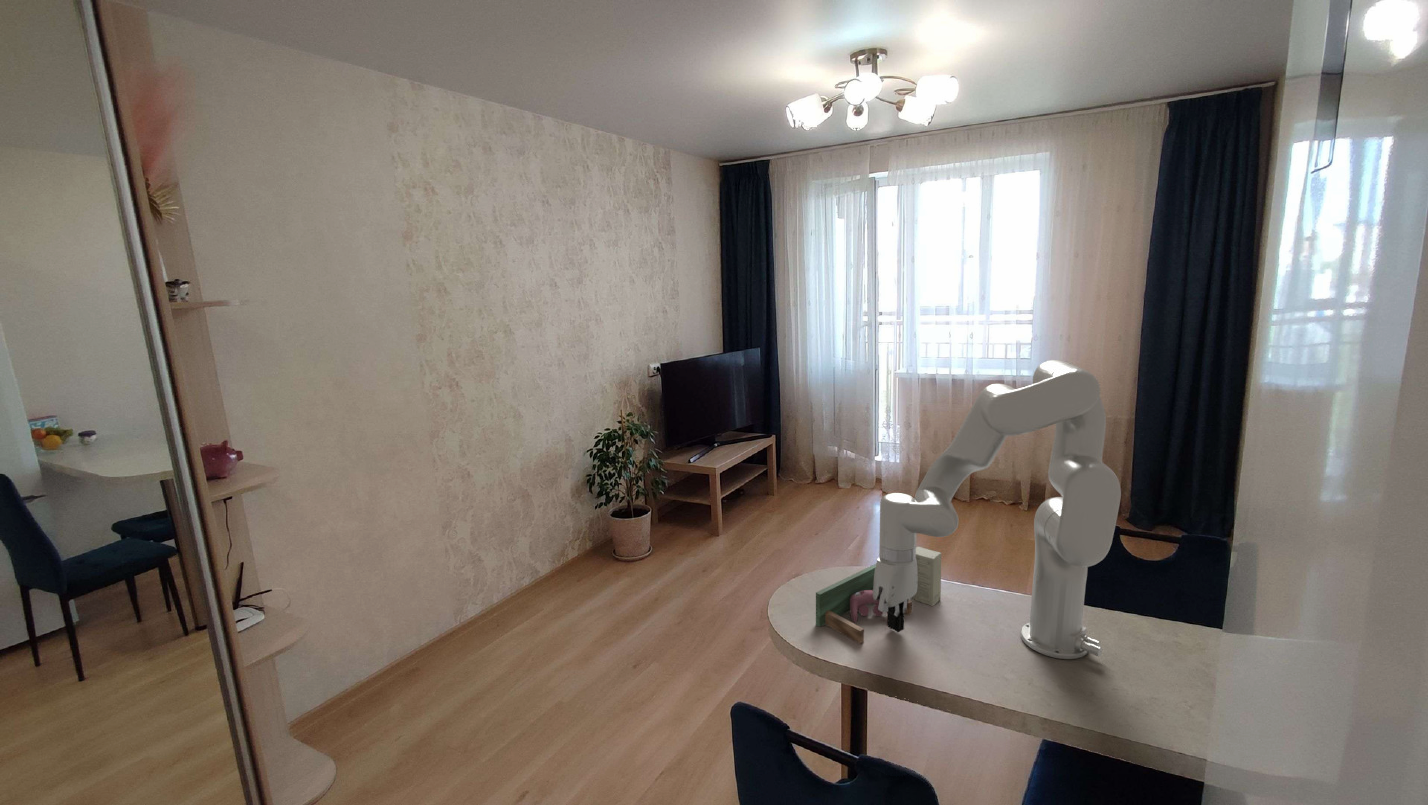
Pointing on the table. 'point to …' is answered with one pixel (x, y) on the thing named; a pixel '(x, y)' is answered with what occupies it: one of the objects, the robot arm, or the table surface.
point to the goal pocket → (845, 603)
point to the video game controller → (863, 604)
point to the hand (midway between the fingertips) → (895, 628)
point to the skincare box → (928, 576)
